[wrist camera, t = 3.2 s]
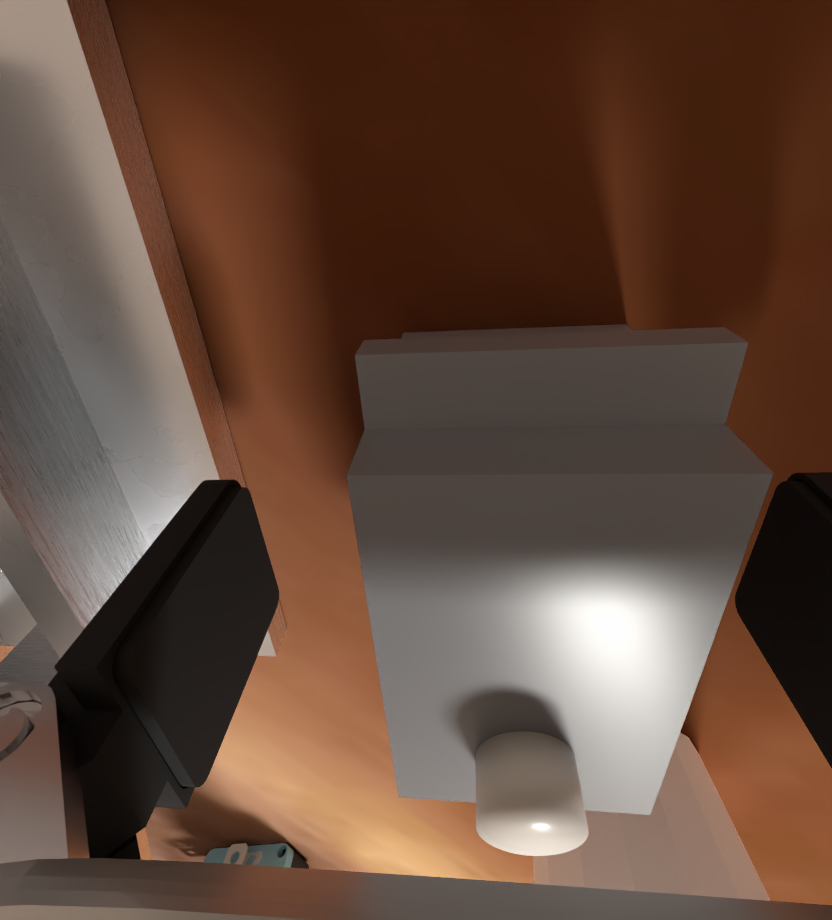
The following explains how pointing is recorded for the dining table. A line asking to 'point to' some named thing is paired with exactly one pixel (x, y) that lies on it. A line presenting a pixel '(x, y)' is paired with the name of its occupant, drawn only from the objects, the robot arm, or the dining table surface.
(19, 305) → the plate
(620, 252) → the dining table surface
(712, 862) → the white cylinder
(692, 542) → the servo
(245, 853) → the push button
